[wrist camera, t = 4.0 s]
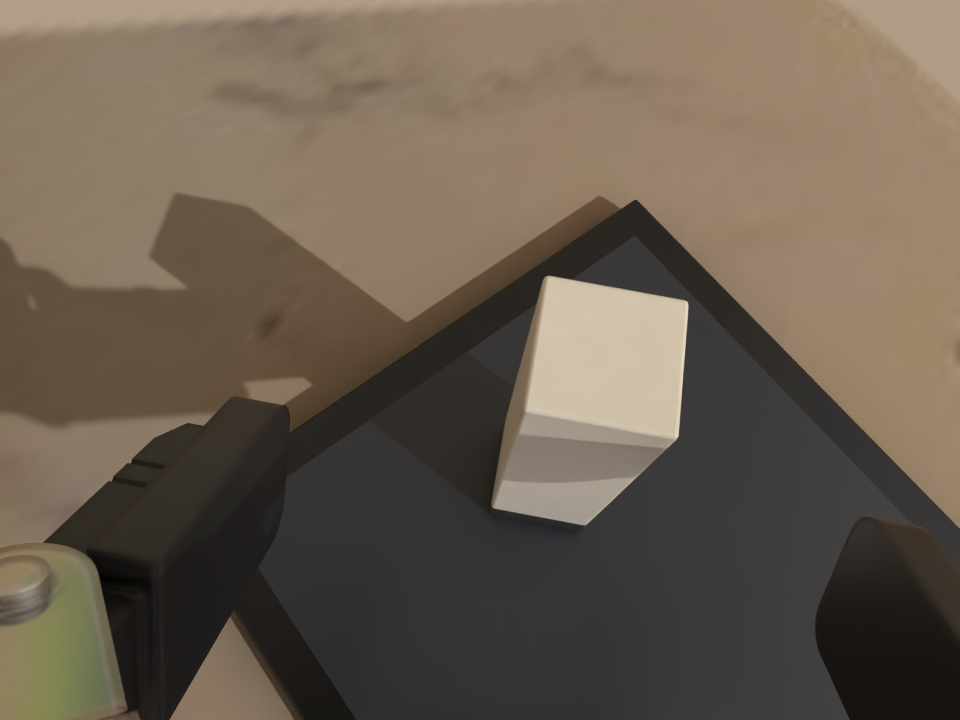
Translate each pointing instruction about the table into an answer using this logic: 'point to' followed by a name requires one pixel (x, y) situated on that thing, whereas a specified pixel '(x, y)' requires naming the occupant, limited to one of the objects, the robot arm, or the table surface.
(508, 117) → the table surface
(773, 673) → the tablet
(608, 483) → the tall cream square pillar
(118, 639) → the robot arm
